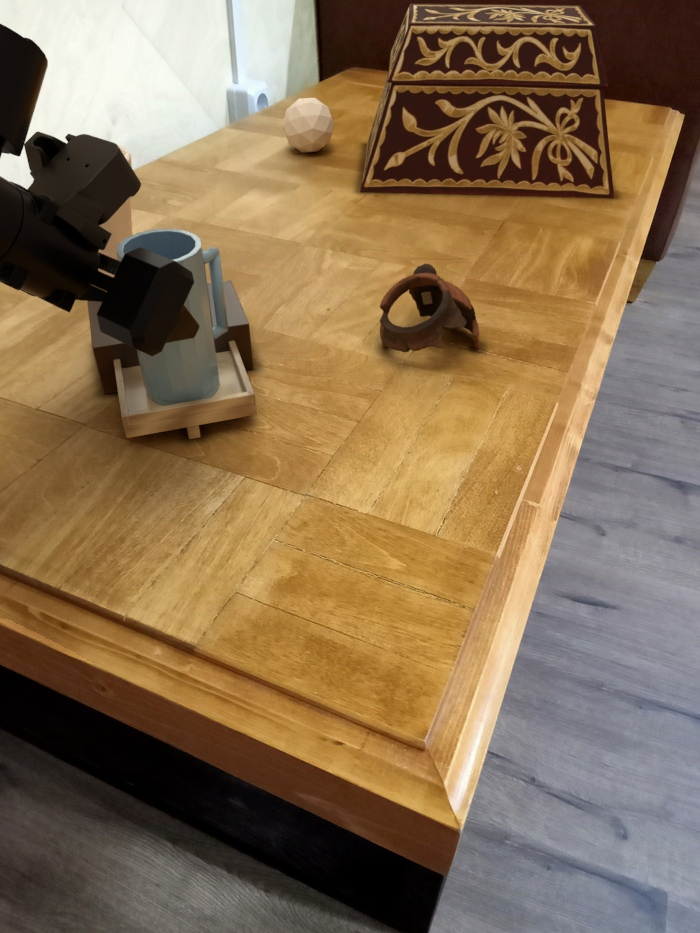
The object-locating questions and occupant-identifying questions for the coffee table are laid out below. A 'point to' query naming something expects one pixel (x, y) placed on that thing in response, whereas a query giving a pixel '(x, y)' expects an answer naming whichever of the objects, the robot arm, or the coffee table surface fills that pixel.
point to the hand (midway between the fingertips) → (155, 313)
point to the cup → (118, 224)
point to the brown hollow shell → (427, 311)
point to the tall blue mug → (192, 360)
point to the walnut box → (149, 417)
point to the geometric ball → (308, 125)
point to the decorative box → (492, 104)
